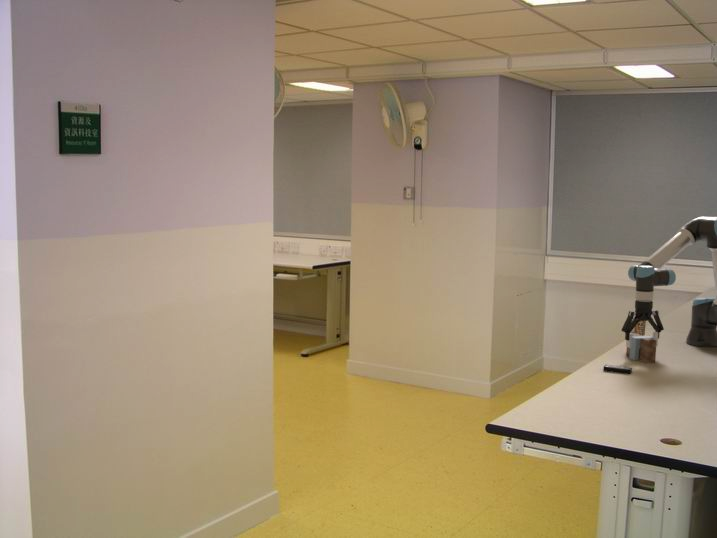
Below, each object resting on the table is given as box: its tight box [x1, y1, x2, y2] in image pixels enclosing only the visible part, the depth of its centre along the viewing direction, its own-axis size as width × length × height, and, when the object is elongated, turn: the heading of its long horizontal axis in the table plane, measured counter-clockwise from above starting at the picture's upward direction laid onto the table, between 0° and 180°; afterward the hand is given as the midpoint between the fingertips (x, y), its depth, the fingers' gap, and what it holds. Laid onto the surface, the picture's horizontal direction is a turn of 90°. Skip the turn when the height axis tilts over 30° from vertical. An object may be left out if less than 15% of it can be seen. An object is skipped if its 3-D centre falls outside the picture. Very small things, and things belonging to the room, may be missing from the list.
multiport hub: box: [602, 364, 633, 375], centre depth 335 cm, size 4×11×2 cm, turn 62°
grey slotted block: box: [628, 335, 653, 361], centre depth 358 cm, size 9×4×10 cm, turn 105°
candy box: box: [630, 317, 647, 336], centre depth 375 cm, size 9×4×15 cm, turn 129°
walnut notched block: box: [626, 333, 657, 364], centre depth 358 cm, size 4×16×10 cm, turn 15°
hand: (641, 346), depth 358 cm, fingers open, 13 cm apart
